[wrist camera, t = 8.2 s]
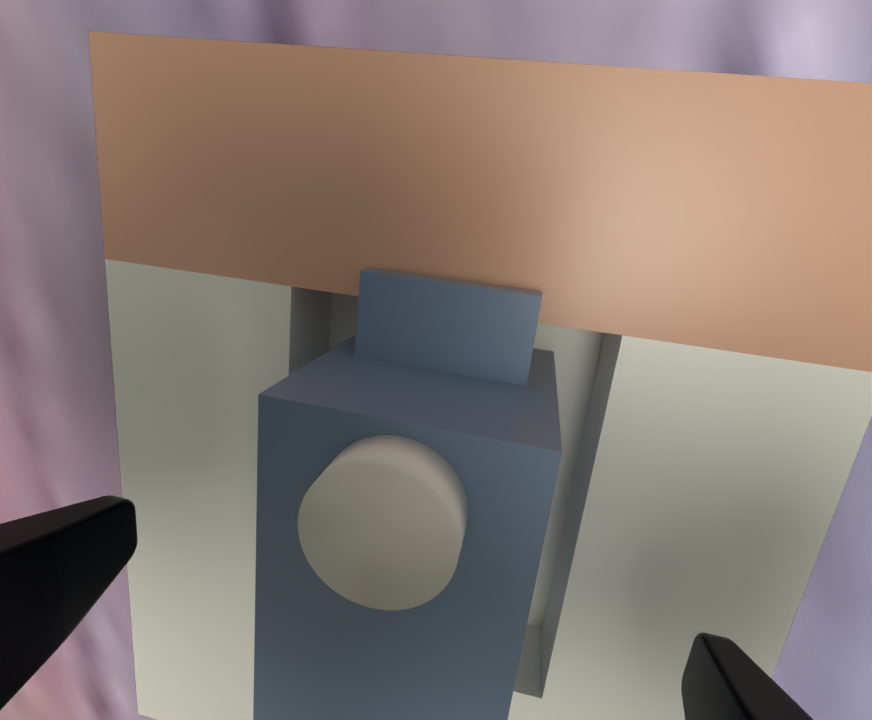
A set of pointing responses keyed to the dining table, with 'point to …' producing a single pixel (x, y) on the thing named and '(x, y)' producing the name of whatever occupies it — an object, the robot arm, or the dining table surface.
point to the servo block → (405, 507)
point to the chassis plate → (556, 331)
